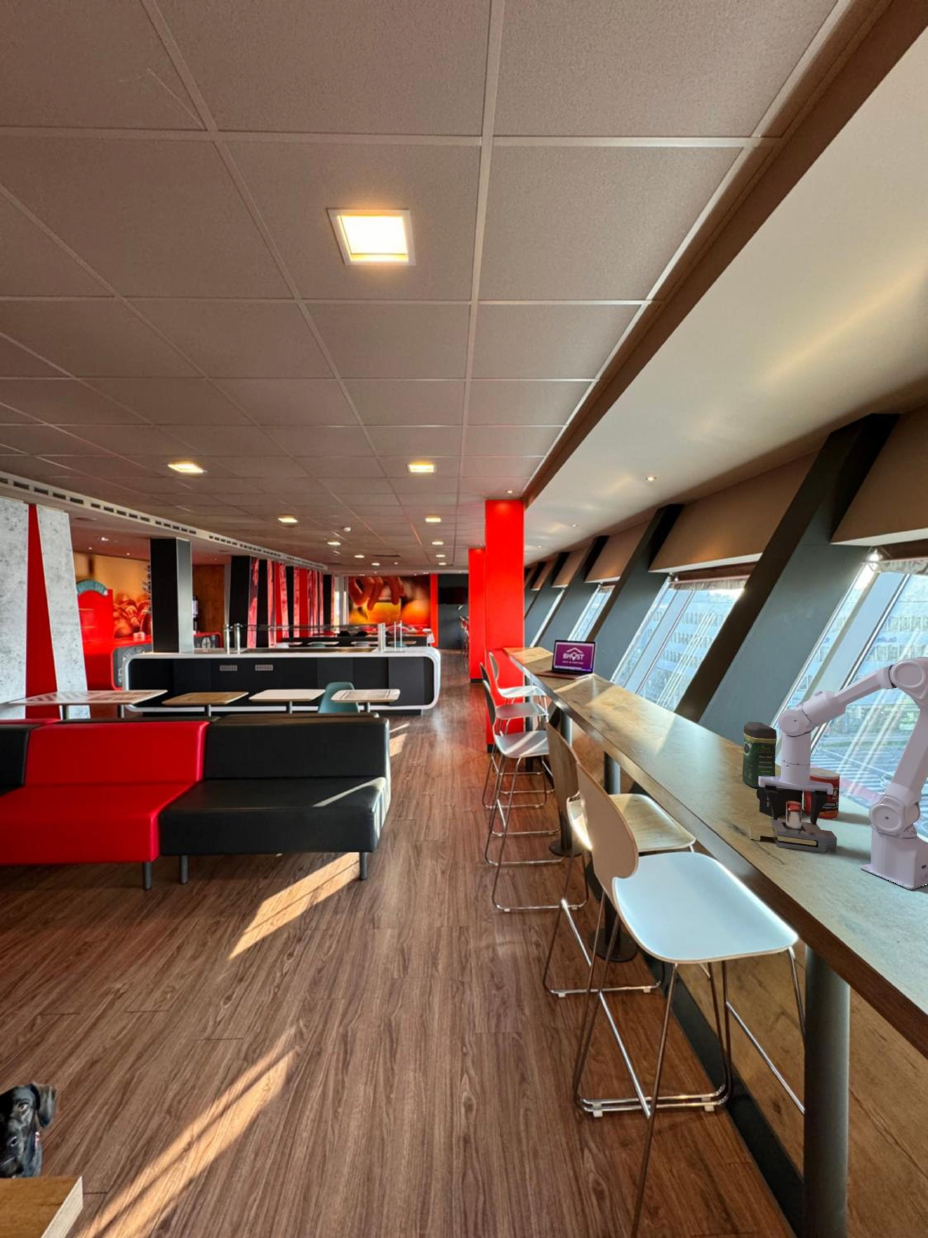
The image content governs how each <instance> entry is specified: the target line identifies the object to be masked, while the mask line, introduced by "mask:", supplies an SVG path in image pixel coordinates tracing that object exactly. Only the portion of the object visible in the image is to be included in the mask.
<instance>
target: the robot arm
mask: <svg viewBox="0 0 928 1238" xmlns="http://www.w3.org/2000/svg"><path fill="white" fill-rule="evenodd" d="M897 688H898V689H899V690H901V691H902V692H904V694H906V695H907V696H908V697H910V698H911V700H913V702H914V704H915V705H916V706H917V708H918V709H919V711H920V712H919V714H918V717H917V720H916V722H915V724H914V726H913V729H912V731H911V734H910V736H909V738H908V740H907V743H906V745H905V747H904V751H903V752H902V754H901V757H900V760H899V762H898V763H897V766H896V769H895V771H894V772H893V773H894V774H893V776H892V778H891V781H890V782H889V784H888V785H887V787H886V789H884V791H883V793H882V794H881V797H880V798H879V800H878V801H876V802H875V803H872V804H871V806H870V807H869V809H868V818H869V820H870V822H871V843H870V844H871V845H870V848H871V850H870V863H867V864H863V865H860V869H861V870H863V871H866V872H868V873H870V874H872V875H875V876H877V877H879V878H881V877H882V878H881V879H884V880H887V881H888V880H889V882H891V883H893V882H894V883H893V884H895V883H896V885H898V886H900V885H901V886H900V887H902V886H903V888H905V889H907V890H914V889H915V890H916V889H918V887H919V888H921V887H920V886H922V887H924V886H923V885H925V884H928V842H927V841H925V840H924V839H922V838H921V837H919V835H918V831H917V828H916V827H915V825H914V824H915V823H916V822H918V821H919V820H920V818H921V806H920V803H921V799H922V797H923V794H922V793H923V792H922V790H923V788H924V786H925V784H926V782H927V780H928V656H915V657H913V658H904V659H903V658H902V659H901V660H898V661H896V662H895V663H892V664H889V665H886V666H883V667H880V668H878V669H875V670H873V671H872V672H870V673H868V674H867V675H865V676H862V678H860V679H857V680H856V681H855V682H853V683H851V684H849V685H848V686H845V687H844V688H842V689H840V690H839V691H836V692H835V691H831V690H825V691H822V690H818V691H817V692H815V693H813V695H814V696H813V697H812V698H810V699H808V700H806V701H805V702H798V703H795V708H793V709H791V708H789V709H785V710H784V711H783V712H782V713H781V714H780V715H779V716H778V719H777V725H778V728H779V729H780V730H781V731H782V732H781V757H780V760H781V761H780V776H775V777H763V776H759V786H760V787H764V789H765V792H766V794H767V797H768V799H769V802H770V806H771V810H772V817H771V818H773V819H774V820H777V819H779V818H778V811H777V805H778V796H779V794H778V792H777V789H776V788H785V789H794V790H803V792H804V791H810V793H811V812H810V815H809V821H810V822H809V823H812V825H816V824H818V823H817V821H818V819H819V818H818V816H819V814H820V812H821V810H822V808H823V806H824V805H825V804H826V802H827V801H828V795H827V794H833V785H832V784H831V783H823V782H817V781H812V780H810V768H811V759H812V758H811V757H812V732H813V731H814V730H815V729H816V728H818V727H820V726H823V725H825V724H827V723H829V722H830V721H833V720H834V719H836V718H839V717H841V716H843V715H845V713H846V711H847V710H846V709H847V706H848V705H850V704H852V703H854V702H857V701H858V700H861V699H863V698H865V697H868V696H869V695H871V694H873V693H876V692H878V691H880V690H895V689H897Z"/></svg>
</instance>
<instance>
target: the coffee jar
mask: <svg viewBox="0 0 928 1238" xmlns="http://www.w3.org/2000/svg"><path fill="white" fill-rule="evenodd" d="M777 738H778V737H777V730H776V729H775V728H773V727H772V726H768V725H767V724H764V723H763V722H759V721H748V722H747V723H746V724H744V727H743V758H742V759H743V760H742V761H743V762H742V775H741V779H742V781H743V782H744V783H745V784H747V785H748V786H749V787H753V788H757V789H758V787H759V776H763V777H776V751H777V750H776V749H777V741H778V739H777Z"/></svg>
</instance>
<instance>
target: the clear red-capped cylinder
mask: <svg viewBox="0 0 928 1238" xmlns="http://www.w3.org/2000/svg"><path fill="white" fill-rule="evenodd" d="M801 807H802V808H803V803H802V804H801V803H799V802H795V801H787V802H786V815H785V820H786V829H790V830H798V831H801V822H802V813H801Z"/></svg>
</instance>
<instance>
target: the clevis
mask: <svg viewBox="0 0 928 1238" xmlns="http://www.w3.org/2000/svg"><path fill="white" fill-rule="evenodd" d="M769 822H770V824H771V826H769V825H768V826H767V825H761V824H754V823H752V824H751V823H748V825H747V826H748V827H747V830H748V831H747V834H749V835H748V837H749V839H750V840H751V839H754V840H753V841H760V842H761V836H763V837H771V838H772V839H773V842H774V844H775V846H776V848H784V849H791V850H798V851H805V852H814V853H820V854H827V851H830V852H837V848H838V847H837V845H838V844H837V843H838V841H837V840H838V838H837V836H836V835H835V833H834V832H833V831H832V830H825V829H821V828H820V826H819V824H818V823H816V825H812V823H811V822H808V821H807V822H806V821H801V831H798V830H790V829H786V819H781V818H778V819H777V820H774V819H773V817H770V821H769Z"/></svg>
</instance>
